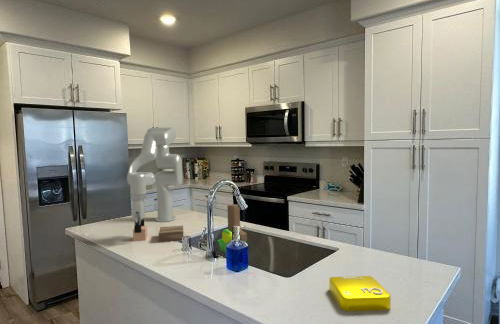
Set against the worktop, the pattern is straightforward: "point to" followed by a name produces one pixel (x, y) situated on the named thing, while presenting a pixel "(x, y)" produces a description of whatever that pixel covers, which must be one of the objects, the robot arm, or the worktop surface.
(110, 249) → the worktop surface
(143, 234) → the terracotta cube
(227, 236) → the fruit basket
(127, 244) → the worktop surface
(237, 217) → the wooden block
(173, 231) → the walnut base block
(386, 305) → the element tile
